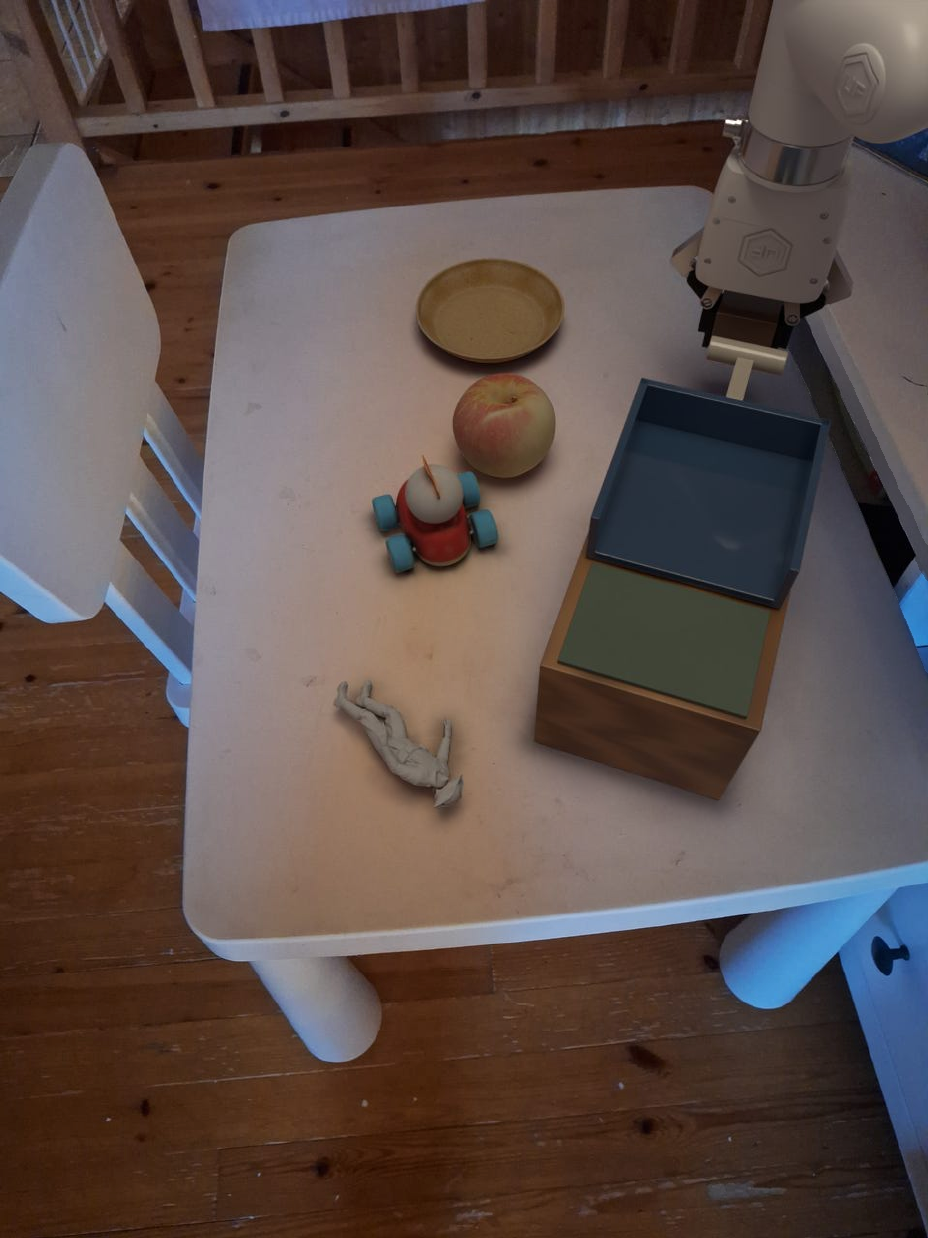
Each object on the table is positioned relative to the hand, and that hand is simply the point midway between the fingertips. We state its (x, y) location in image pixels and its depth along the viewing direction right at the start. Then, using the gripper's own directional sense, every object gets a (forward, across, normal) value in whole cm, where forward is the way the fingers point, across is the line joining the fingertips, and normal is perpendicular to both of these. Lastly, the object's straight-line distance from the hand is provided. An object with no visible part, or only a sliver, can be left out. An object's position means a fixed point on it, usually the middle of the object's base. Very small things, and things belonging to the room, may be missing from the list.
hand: (740, 342), depth 80 cm
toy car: (+7, -20, -24) cm, 32 cm away
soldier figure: (+7, -15, -44) cm, 47 cm away
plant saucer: (+6, -24, +2) cm, 25 cm away
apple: (+7, -17, -14) cm, 23 cm away
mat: (-5, +1, -35) cm, 36 cm away
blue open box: (-5, +1, -21) cm, 22 cm away
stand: (+7, +1, -28) cm, 29 cm away
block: (0, 0, 0) cm, 0 cm away
